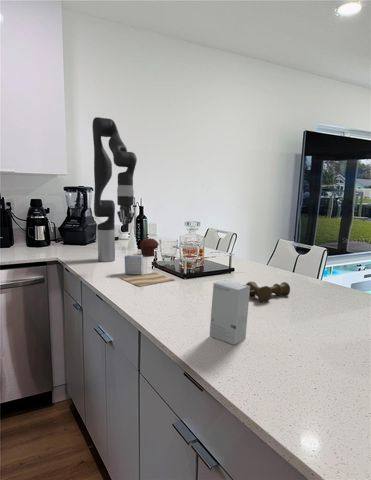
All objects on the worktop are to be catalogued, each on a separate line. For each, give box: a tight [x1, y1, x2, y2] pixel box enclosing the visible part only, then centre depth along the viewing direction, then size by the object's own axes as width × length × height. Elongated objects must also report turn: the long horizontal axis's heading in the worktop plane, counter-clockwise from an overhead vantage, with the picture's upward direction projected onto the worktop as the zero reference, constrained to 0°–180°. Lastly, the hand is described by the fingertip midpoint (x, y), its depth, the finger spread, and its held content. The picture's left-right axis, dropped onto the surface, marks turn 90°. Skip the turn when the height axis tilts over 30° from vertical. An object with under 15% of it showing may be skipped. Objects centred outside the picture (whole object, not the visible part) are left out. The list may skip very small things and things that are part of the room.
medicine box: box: [124, 254, 145, 275], centre depth 153 cm, size 8×4×9 cm, turn 84°
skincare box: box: [209, 279, 250, 346], centre depth 87 cm, size 8×6×15 cm
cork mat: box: [120, 272, 176, 288], centre depth 145 cm, size 16×18×1 cm
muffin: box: [139, 238, 160, 257], centre depth 200 cm, size 12×11×10 cm
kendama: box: [245, 281, 291, 303], centre depth 122 cm, size 6×10×20 cm
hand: (125, 231), depth 157 cm, fingers closed
